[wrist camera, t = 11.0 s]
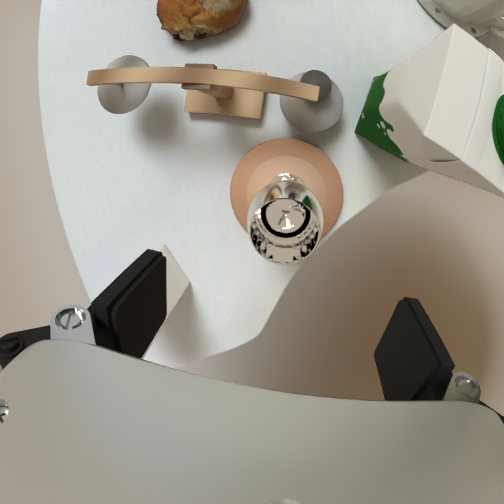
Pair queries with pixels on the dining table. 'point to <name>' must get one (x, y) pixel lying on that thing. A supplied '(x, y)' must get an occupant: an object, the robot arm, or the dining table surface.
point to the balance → (222, 91)
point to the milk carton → (443, 111)
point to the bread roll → (198, 17)
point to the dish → (293, 162)
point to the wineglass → (285, 220)
